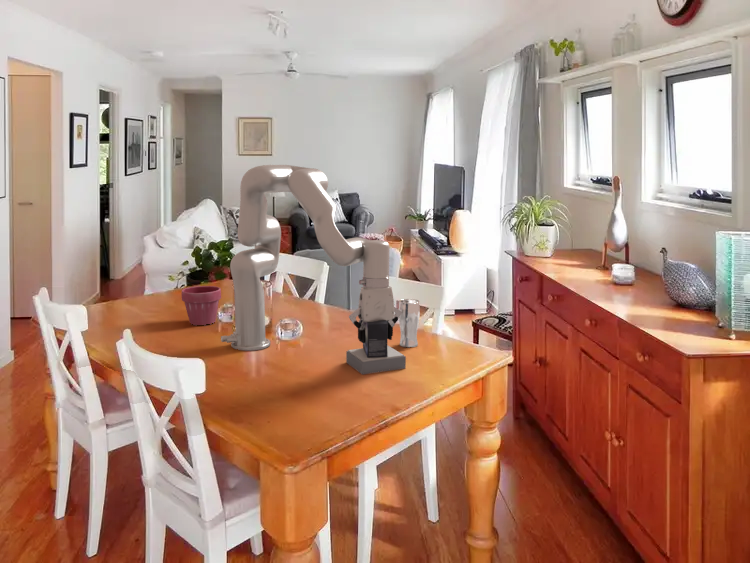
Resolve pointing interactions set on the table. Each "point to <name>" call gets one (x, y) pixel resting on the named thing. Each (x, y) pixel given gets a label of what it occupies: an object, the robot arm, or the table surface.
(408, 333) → the beer glass
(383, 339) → the small box
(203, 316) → the plant pot
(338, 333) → the table surface
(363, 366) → the block
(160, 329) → the table surface
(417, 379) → the table surface
